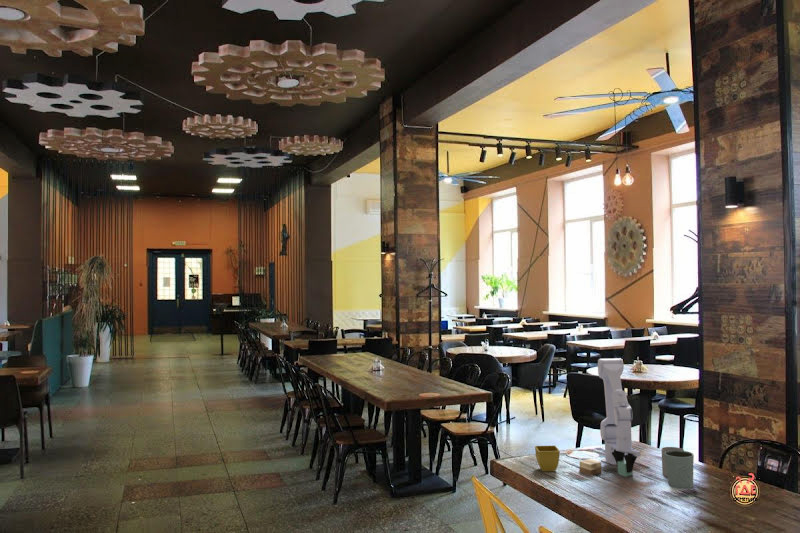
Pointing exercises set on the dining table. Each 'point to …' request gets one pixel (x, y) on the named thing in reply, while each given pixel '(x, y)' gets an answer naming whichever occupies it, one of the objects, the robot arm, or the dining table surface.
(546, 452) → the flower pot
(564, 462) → the dining table surface
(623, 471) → the teal block
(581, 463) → the oak slab
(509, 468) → the dining table surface
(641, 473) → the dining table surface
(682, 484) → the grey-green embossed container
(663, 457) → the cup
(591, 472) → the walnut slab
